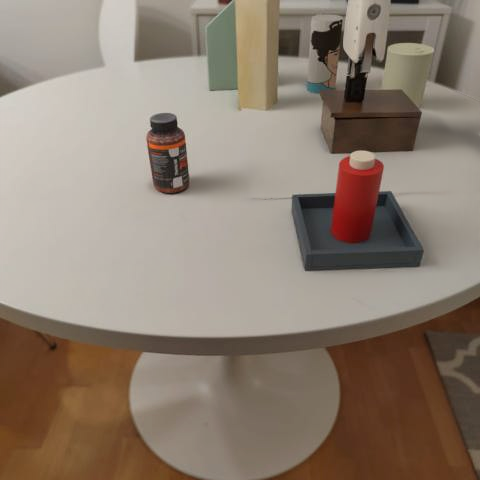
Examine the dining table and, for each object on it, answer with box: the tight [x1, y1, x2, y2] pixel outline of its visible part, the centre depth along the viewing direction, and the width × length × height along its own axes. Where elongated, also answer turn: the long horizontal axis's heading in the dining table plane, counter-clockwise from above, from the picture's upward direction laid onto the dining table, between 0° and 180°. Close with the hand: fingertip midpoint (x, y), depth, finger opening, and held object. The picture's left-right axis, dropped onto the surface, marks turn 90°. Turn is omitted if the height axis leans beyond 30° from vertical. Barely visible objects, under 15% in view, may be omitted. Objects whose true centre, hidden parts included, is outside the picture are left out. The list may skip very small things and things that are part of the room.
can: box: [380, 42, 435, 109], centre depth 96 cm, size 9×9×12 cm
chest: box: [320, 102, 422, 155], centre depth 84 cm, size 15×12×7 cm
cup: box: [306, 13, 344, 95], centre depth 104 cm, size 7×7×15 cm
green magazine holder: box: [204, 0, 238, 91], centre depth 107 cm, size 16×8×20 cm, turn 96°
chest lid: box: [319, 89, 423, 118], centre depth 81 cm, size 15×12×1 cm
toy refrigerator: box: [235, 0, 281, 112], centre depth 95 cm, size 8×7×21 cm
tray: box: [291, 190, 425, 271], centre depth 62 cm, size 15×15×3 cm
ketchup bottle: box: [331, 151, 385, 243], centre depth 59 cm, size 5×5×11 cm
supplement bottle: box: [145, 112, 190, 194], centre depth 71 cm, size 6×6×11 cm
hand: (353, 100), depth 81 cm, fingers closed
